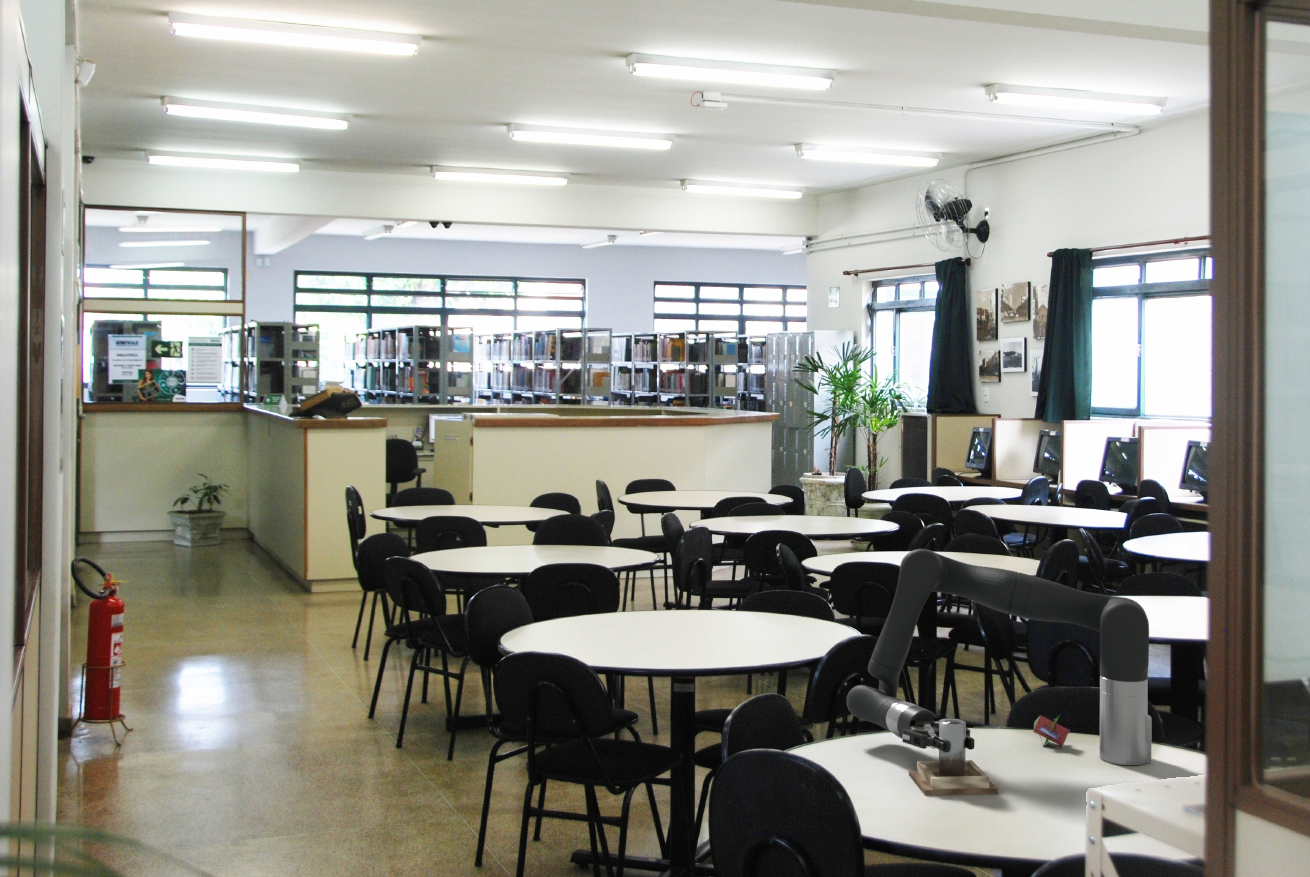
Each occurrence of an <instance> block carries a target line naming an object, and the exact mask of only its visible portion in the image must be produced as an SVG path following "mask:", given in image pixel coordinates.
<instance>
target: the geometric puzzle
mask: <svg viewBox="0 0 1310 877" xmlns="http://www.w3.org/2000/svg"><path fill="white" fill-rule="evenodd" d="M1058 719H1059V720H1060V721H1061V720H1062V718H1061V715H1060V714H1059V715H1058V714H1057V715H1056V717H1054V718H1053V719H1052V718H1050V717H1048V716H1046V715H1043V714H1040V715H1039V716H1038V717H1037V718H1036V719H1035V721H1033V722H1034V723H1033V733H1034V734H1036V735H1038V736H1039V737H1040V742H1041V745H1042V747H1043V748H1044V747H1048V748H1049V747H1053V748H1054V747H1056V746H1057V747H1060V748H1063V747H1064V746H1063V745H1064V744H1065V742H1066V739H1067V737H1068V734H1069V732H1070V731H1071V730H1070V729H1069V728H1067V726H1065V725H1063V724H1062V722H1061V723H1060V721H1059V720H1058ZM1063 722H1064V720H1063ZM1064 723H1065V722H1064ZM1042 739H1043V740H1044V741H1045V742H1044V744H1043V741H1042ZM1049 744H1053V745H1055V746H1051V745H1050V746H1048V745H1049Z"/></svg>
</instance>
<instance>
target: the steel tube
mask: <svg viewBox="0 0 1310 877" xmlns="http://www.w3.org/2000/svg"><path fill="white" fill-rule="evenodd" d="M966 725H967V724H966V721H964V720H962V719H959V718H942V719H939V737H941V738H943V739H945V740H947V741H949V743H950V752H947V753H945V752H943V751H941V750H939V749H938V761H939V773H940V774H941V775H944V776H948V777H956V776H964V775H965V760H967V759H966V755H967V754H966V750H967V748H966V728H967V726H966Z"/></svg>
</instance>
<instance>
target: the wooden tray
mask: <svg viewBox="0 0 1310 877" xmlns="http://www.w3.org/2000/svg"><path fill="white" fill-rule="evenodd" d="M908 777H909V778H910V779H911V780H912V781H913V783H914V784H915V785H916V786H917V787H918V788H919V790H920V791H921V793H922V794H923V795H924V796H960V795H961V796H962V795H964V796H965V795H967V796H968V795H998V794H999V788H998V787H997V786H996V785H995V784H994V783H993V782H992V781H991V780H990V776H988V775H987V774H986V773H985V772H984V770H982V769H981V767H980V766H978V765H977V764H976V763H975V762H974V761H973V759H971V760H970V759H965V775H964V776H956V777H948V776H944V775H941V774H940V773H939V760H916V770H914V769H913V770H908Z"/></svg>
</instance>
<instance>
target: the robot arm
mask: <svg viewBox="0 0 1310 877" xmlns="http://www.w3.org/2000/svg"><path fill="white" fill-rule="evenodd" d="M897 580H898V581H897V585H896V589H895V594H894V597H893V600H892V604H891V607H890V609H889V613H888V615H887V616H886V617H887V618H886V620H885V621H884V624H883V627H882V630H881V632H880V633H879V634H880V635H879V636H878V639H877V641H876V643H875V646H874V649H873V651H872V654H871V657H870V660H869V661H868V666H867V671H868V673H869V674H870V675H871V676H872V677H874V678H876V679H877V680H878V683H879V684H878V685H879V686H878V689H877V688H874V687H873V686H872V687H871V686H869V685H864V684H859V685H855V686H854V687H852V688H851V689H850V690H849V691H848V694H847V695H846V706H847V709H848V711H849V712H850V713H851V715H852V716H854V717H855V718H858V719H860V720H864V721H866V722H868V723H872V724H874V725H877V726H879V727H880V728H883V729H884V730H886V731H888V732H891V733H893V734H894V735H895V736H896V737H897V738H900V739H902V743H903V744H908V745H910V746H914V747H917V748H919V749H923V750H924V749H927V748H929V749H933V750H934V749H937V750H938V751H939V750H941V751H943V752H945V753H947V752H950V743H949V741H947V740H945V739H943V738H941V737H939V721H940V719H939V718H938V717H937V715H936V714H935V713H934V712H933V711H930V710H929V709H926V708H925V707H921V706H920V705H916V704H915V703H912V702H908V701H904V700H902V699H900V698H897V697H898V687H899V681H900V675H901V672H902V670H903V667H904V665H905V662H906V660H907V657H908V654H909V651H910V649H911V645H912V642H913V637H914V634H915V630H916V626H917V624H918V621H919V618H920V615H921V613H922V610H923V609H924V608H923V607H924V606H925V604H926V602H927V600H928V599H929V597H930V595H931V593H932V592H935V593H942V594H947V595H953V596H957V597H961V598H965V599H968V600H971V601H973V602H975V603H977V604H978V605H979V604H980V605H982V606H984V607H986V608H989V609H990V610H991V609H992V610H995V611H997V612H1001V613H1004V614H1007V615H1011V616H1015V617H1019V618H1021V619H1027V620H1031V621H1039V622H1048V623H1049V622H1050V623H1066V624H1072V625H1077V626H1081V627H1085V628H1087V629H1090V630H1093V631H1096V632H1099V634H1100V638H1099V639H1100V642H1099V643H1100V645H1099V646H1100V648H1099V649H1100V654H1099V758H1100V759H1101V760H1103V761H1105V762H1106V763H1107V762H1108V763H1111V764H1115V765H1120V766H1121V765H1122V766H1123V765H1124V766H1141V765H1144V764H1148V763H1149V764H1151V763H1152V728H1153V727H1152V726H1153V724H1152V716H1151V715H1149V714H1148V702H1149V701H1148V692H1149V691H1148V690H1149V689H1148V687H1149V686H1148V681H1149V679H1148V678H1149V675H1148V674H1149V663H1150V658H1149V656H1150V654H1149V653H1150V652H1149V651H1150V624H1149V623H1150V622H1149V618H1148V615H1147V613H1146V611H1145V610H1144V608H1143V607H1142V605H1141V604H1140V603H1138V602H1137V601H1136V600H1133V599H1131V598H1128V597H1122V596H1115V595H1107V594H1100V593H1095V592H1089V591H1083V590H1080V589H1076V588H1073V587H1070V586H1067V585H1064V584H1061V583H1058V582H1055V581H1052V580H1048V579H1045V578H1041V577H1038V576H1035V575H1031V574H1027V573H1023V572H1018V571H1015V570H1009V569H1004V568H999V567H998V568H997V567H991V566H990V567H989V566H981V565H975V564H969V563H965V562H962V561H959V560H956V559H952V558H950V557H947V556H944V555H942V554H939V553H938V552H935V551H933V550H931V549H927V548H918V549H913V550H911V551H910V552H908V553H906V554H905V556H904V557H903V558H902V560H901V562H900V566H899V574H898V579H897ZM974 749H975V738H974V737H971V729H970V728H968V727H966V750H974Z"/></svg>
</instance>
